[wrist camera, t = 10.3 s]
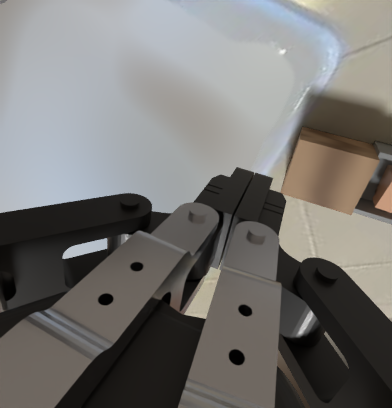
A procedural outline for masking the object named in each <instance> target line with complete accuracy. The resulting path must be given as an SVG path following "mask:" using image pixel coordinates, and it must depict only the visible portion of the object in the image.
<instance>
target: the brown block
mask: <svg viewBox="0 0 392 408" xmlns="http://www.w3.org/2000/svg"><path fill="white" fill-rule="evenodd" d="M379 162H380V160H379V157H378V155H377V153H376V150H375V148H374V146H373V144H369V143H365V142H361V141H357V140H353V139H349V138H345V137H342V136H338V135H334V134H330V133H326V132H322V131H318V130H314V129H310V128H306V127H302V130H301V132H300V135H299V138H298V141H297V144H296V146H295V149H294V152H293V155H292V158H291V161H290V163H289V166H288V169H287V172H286V175H285V178H284V182H283V185H282V189H281V192H280V193H282V194H284V195H288V196H291V197H294V198H297V199H301V200H304V201H307V202H310V203H314V204H317V205H320V206H323V207H327V208H330V209H333V210H336V211H339V212H343V213H346V214H349V215H352V213H353V211H354V209H355V207H356V205H357V203H358V201H359V199H360V198H361V196H362V194H363V192H364V190H365V188H366V186H367V184H368V182H369V180H370V179H371V177H372V175H373V173H374V171H375V169H376V167H377V165H378V163H379Z"/></svg>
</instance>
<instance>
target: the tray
mask: <svg viewBox="0 0 392 408" xmlns="http://www.w3.org/2000/svg"><path fill="white" fill-rule="evenodd" d="M373 146H374V148H375V150H376V153H377V155H378V157H379V160H380V162H379V163H378V165H377V167H376V169H375V171H374V173H373V175H372V177H371V179H370V180H369V182H368V184H367V186H366V188H365V190H364V192H363V194H362V196H361V198H360V199H359V201H358V203H357V205H356V207H355V209H354V211H353V213H356V214H360V215H363V216H366V217H370V218H373V219H376V220H379V221H383V222H386V223H389V224H392V213H390V212H387V211H384V210H381V209H378V208H376V207H375V206H374V202H373V199H372V198H373V196H374V195H375V190H376V188H377V186H378V184H379V182H380V180H381V178H382V176H383V174H384V172H385V170H386V168H387V166H388V165H392V145H389V144H385V143H381V142H377V141H375V142H374V144H373Z"/></svg>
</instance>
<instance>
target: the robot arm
mask: <svg viewBox="0 0 392 408" xmlns="http://www.w3.org/2000/svg"><path fill="white" fill-rule="evenodd" d="M253 176H254V177H253ZM272 180H273V178H271V177H268V176H265V175H261V174H258V173H255V175H254V172H251V171H248V170H244V169H241V168H238V167H237V168H236V169H235V171H234V172H233V174H232V175H231V177H227V176H224V175H219V176H216V177H214V178H212V179H211V180H210V182H209V183H208V185H207V186H206V187H205V188H204V190H203V191H202V192H201V193H200V195H199V196H198V197H197V199H196V200H195V201H194V202H193V203H186V204H183V205H181V206H179V207H178V208H177V209H176V210H175V211H174V212H173V213H161V212H153V211H152V204H151V202H150V201H149V200H148V199H147V198H145V197H144V196H141V195H138V194H131V193H126V194H118V195H111V196H105V197H99V198H92V199H86V200H80V201H74V202H67V203H61V204H54V205H48V206H42V207H35V208H29V209H23V210H17V211H10V212H5V213H0V408H305V407H304V405H303V403H302V401H301V399H300V397H299V395H298V393H297V392H296V390H295V388H294V387H293V385H292V384H291V383H290V381H289V379H288V378H287V377H286V376H285V374H284V373H283V372H282V371H281V370H280V369H279V368H278V366H277V356H278V349H279V351H280V353H281V355H282V357H283V358H284V360H285V362H286V364H287V366H288V368H289V369H290V371H291V373H292V375H293V377H294V379H295V380H296V382H297V384H298V386H299V388H300V389H301V391H302V393H303V395H304V397H305V398H306V400H307V402H308V404H309V406H310V408H392V322H391V321H390V320H389V319H388V318H387V317H386V315H385V314H384V313H383V312H382V311H381V310H380V309H379V308H378V307H377V306H376V305H375V304H374V303H373V301H372V300H371V299H370V298H369V297H368V296H367V295H366V294H365V293H364V292H363V291H362V290H361V289H360V288H359V286H358V285H357V284H356V283H355V282H354V281H353V280H352V279H351V278H350V277H349V276H348V275H347V274H346V272H344V271H343V270H342V269H341V268H340V267H339V266H337V265H335V264H334V263H332V262H330V261H327V260H324V259H321V258H307V259H305V260H303V261H302V263H301V262H299V261H297V260H295V259H294V258H292V257H291V256H289V255H288V254H287V253H286V252H285V251H284V250H283V249H282V248H281V246H280V245H279V237H278V235H279V230H280V226H281V222H282V217H283V213H284V208H285V204H286V200H285V198H284V196H283V194H282V193H279V192H276V191H273V190H270V186H271V183H272ZM104 238H107V240H108V241H107V244H108V245H107V249H105V250H101V251H97V252H93V253H88V254H84V255H80V256H76V257H73V258H68V259H62V256H63V253H64V252H65V251H66V250H67V249H68V248H69V247H71V246H74V245H78V244H82V243H87V242H91V241H95V240H100V239H104ZM221 260H222V262H221ZM220 263H221V266H220V269H219V270H221V273H220V276H219V279H218V282H217V286H216V289H215V292H214V295H213V298H212V302H211V305H210V308H209V311H208V314H207V318H206V319H203V318H198V317H192V316H187V315H184V313H185V312H186V310H187V309H188V307H189V305H190V304H191V302H192V300H193V299H194V297H195V296H196V294H197V292H198V291H199V289H200V287H201V286H202V284H203V282H204V279H205V275H206V274H207V273H208V271H209V269H210V267H214V268H216V269H218V267H219V265H220ZM325 331H326V332H327V333H328V335H329V336H330V337H331V339H332V340H333V341H334V343H335V344H336V346H337V347H338V348H339V350H340V351H341V353H342V354H343V355H344V357H345V359H346V361H347V363H348V366H349V369H348V368H347V366H346V365H345V364H344V362H343V361H342V359H341V358H340V357H339V355H338V354H337V352H336V351H335V350H334V348H333V346H332V345H331V344H330V342H329V341H328V339H327V338H326V337H325V335H324V333H325Z"/></svg>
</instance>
